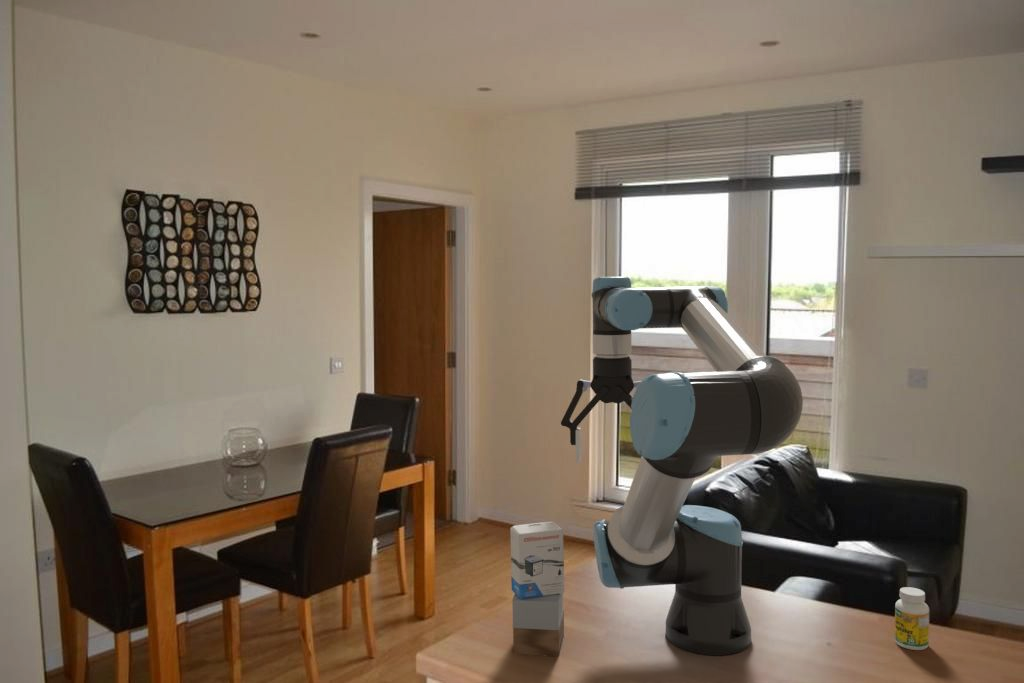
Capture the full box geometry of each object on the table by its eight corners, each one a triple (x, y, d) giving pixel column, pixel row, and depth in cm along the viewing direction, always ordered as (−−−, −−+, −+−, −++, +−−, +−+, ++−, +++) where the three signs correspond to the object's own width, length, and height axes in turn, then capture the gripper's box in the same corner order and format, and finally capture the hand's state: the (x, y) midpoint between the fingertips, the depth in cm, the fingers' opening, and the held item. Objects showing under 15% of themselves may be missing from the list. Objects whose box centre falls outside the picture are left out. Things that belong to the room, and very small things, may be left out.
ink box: (519, 600, 139) (518, 534, 138) (510, 589, 144) (509, 525, 143) (565, 593, 142) (564, 528, 141) (555, 583, 146) (554, 520, 145)
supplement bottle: (935, 647, 140) (937, 594, 139) (913, 653, 138) (914, 599, 137) (909, 634, 145) (910, 583, 144) (887, 640, 143) (888, 588, 142)
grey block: (562, 610, 146) (562, 584, 146) (558, 630, 138) (558, 602, 138) (519, 608, 147) (519, 582, 147) (512, 627, 140) (512, 600, 139)
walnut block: (564, 637, 147) (563, 610, 146) (558, 657, 139) (558, 630, 138) (521, 634, 148) (520, 608, 148) (513, 654, 140) (513, 627, 140)
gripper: (677, 353, 158) (677, 459, 159) (552, 353, 163) (553, 455, 165) (677, 358, 150) (677, 468, 152) (546, 357, 155) (547, 464, 157)
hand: (612, 462), depth 158 cm, fingers open, 13 cm apart
